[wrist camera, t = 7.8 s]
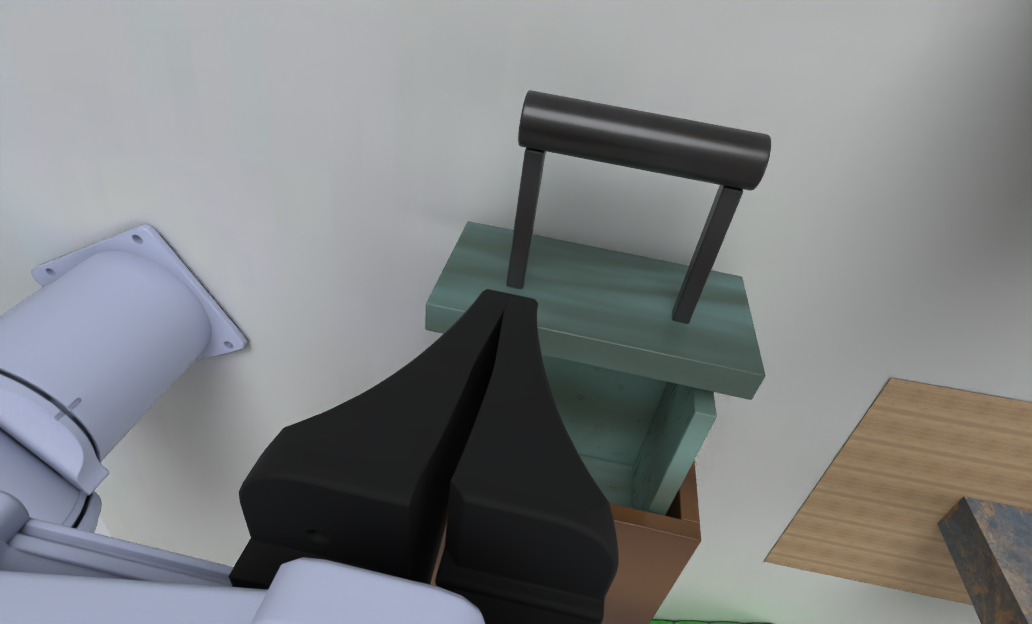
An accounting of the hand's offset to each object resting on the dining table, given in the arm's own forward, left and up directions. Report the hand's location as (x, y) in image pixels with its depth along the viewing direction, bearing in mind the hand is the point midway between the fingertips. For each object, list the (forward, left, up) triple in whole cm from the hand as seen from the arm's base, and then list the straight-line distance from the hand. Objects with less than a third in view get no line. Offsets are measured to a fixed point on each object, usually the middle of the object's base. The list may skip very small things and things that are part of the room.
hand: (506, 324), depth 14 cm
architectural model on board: (+18, -27, -11) cm, 35 cm away
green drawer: (-1, -6, -9) cm, 11 cm away
